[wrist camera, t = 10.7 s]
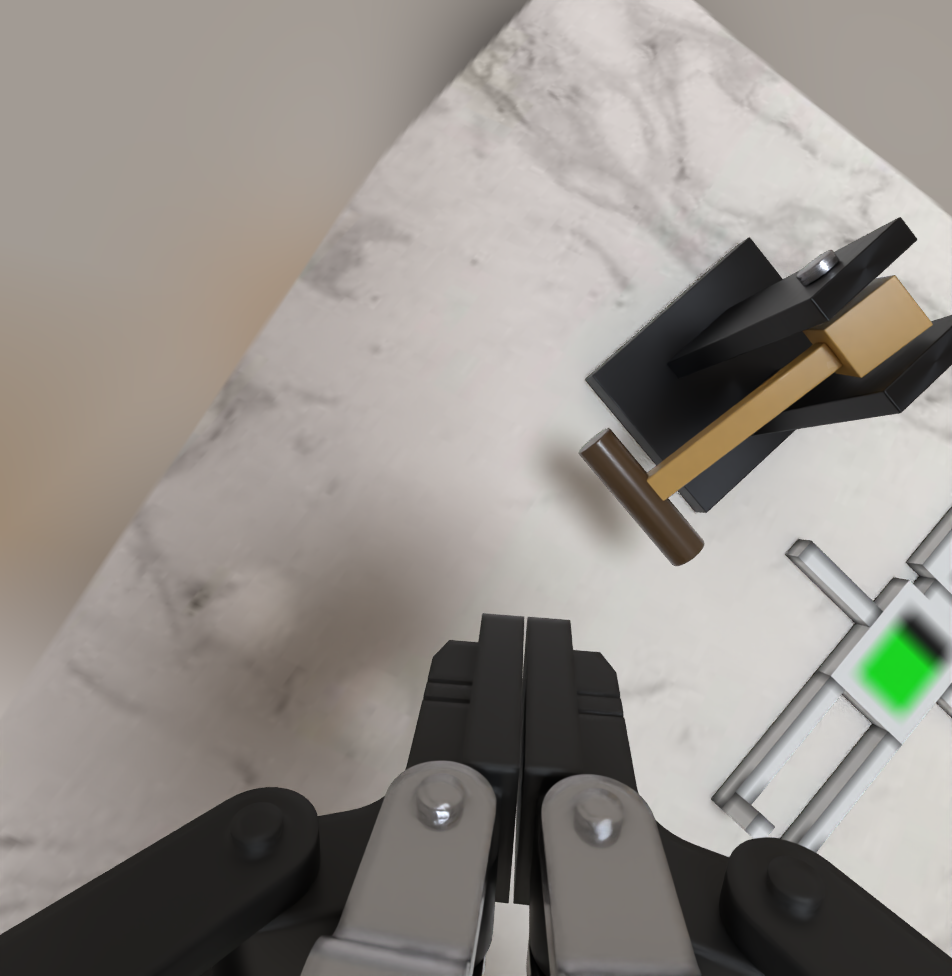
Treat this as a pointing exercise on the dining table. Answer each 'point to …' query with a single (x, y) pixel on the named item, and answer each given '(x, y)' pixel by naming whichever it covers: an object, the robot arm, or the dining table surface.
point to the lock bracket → (759, 356)
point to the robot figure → (859, 686)
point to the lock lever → (756, 411)
